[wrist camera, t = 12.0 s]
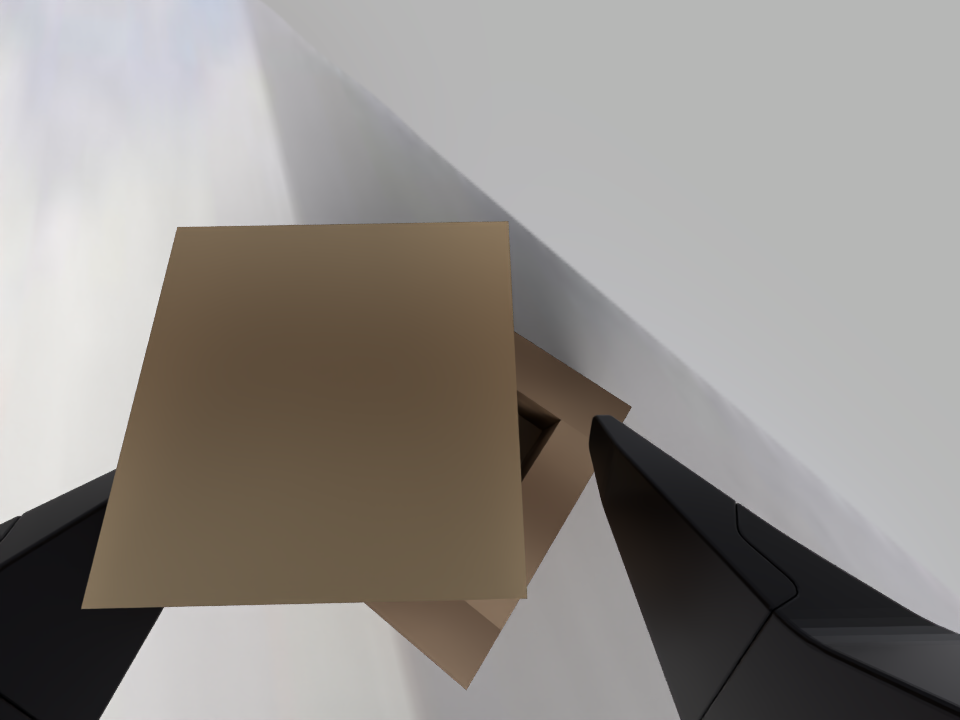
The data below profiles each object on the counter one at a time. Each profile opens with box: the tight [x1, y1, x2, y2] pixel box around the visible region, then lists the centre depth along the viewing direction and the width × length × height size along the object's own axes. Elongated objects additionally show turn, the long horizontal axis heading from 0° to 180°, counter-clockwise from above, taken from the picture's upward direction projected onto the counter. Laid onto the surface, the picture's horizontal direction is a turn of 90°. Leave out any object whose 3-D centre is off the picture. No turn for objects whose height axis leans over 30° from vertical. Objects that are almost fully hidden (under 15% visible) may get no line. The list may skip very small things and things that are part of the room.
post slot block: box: [364, 332, 631, 690], centre depth 15 cm, size 10×10×5 cm
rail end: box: [81, 221, 527, 609], centre depth 10 cm, size 4×4×13 cm
